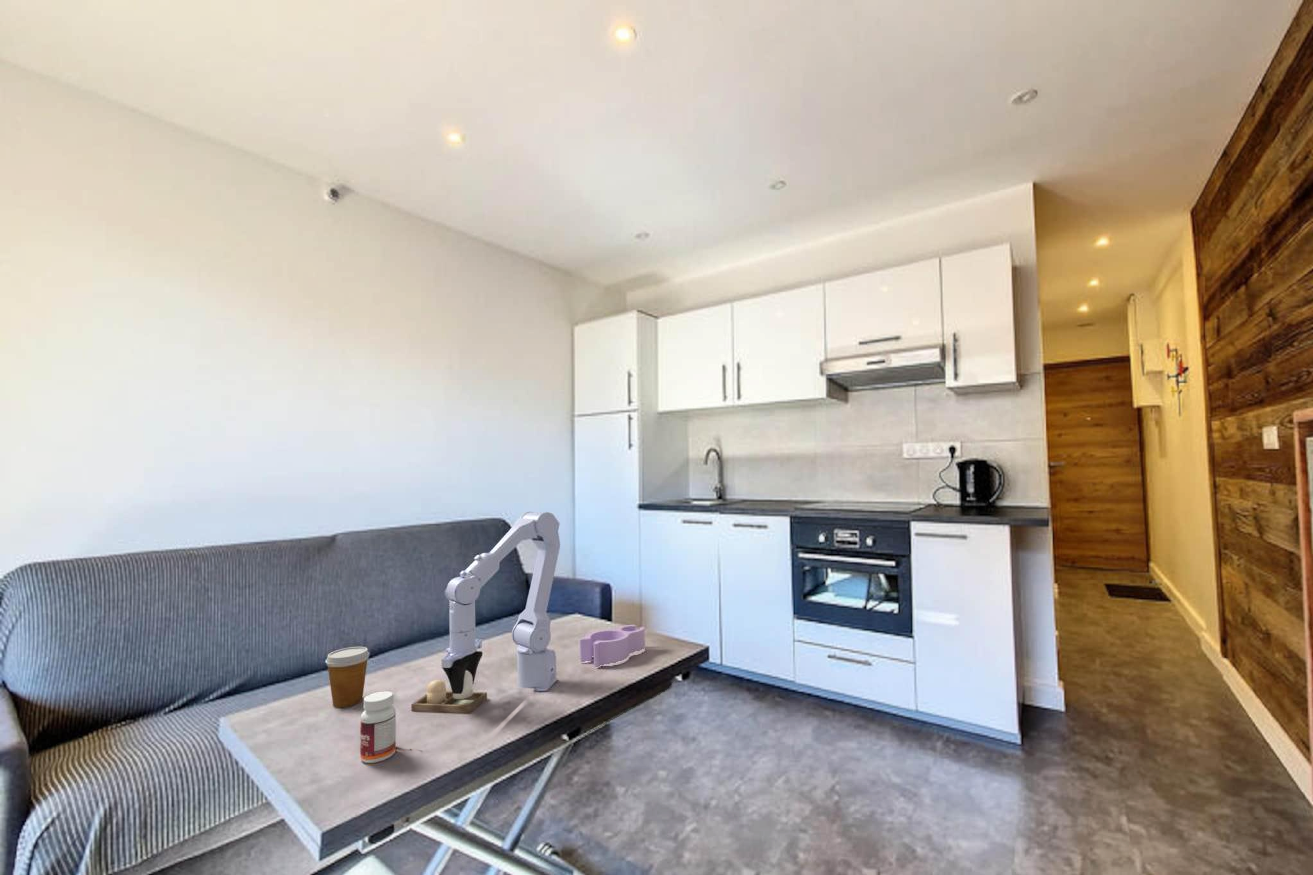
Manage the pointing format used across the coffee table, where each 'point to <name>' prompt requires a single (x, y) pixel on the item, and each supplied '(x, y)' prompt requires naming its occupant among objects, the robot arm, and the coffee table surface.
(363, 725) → the pill bottle
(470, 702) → the egg crate
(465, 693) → the cream egg
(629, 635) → the clip
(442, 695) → the brown egg
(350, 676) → the disposable coffee cup
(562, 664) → the coffee table surface
